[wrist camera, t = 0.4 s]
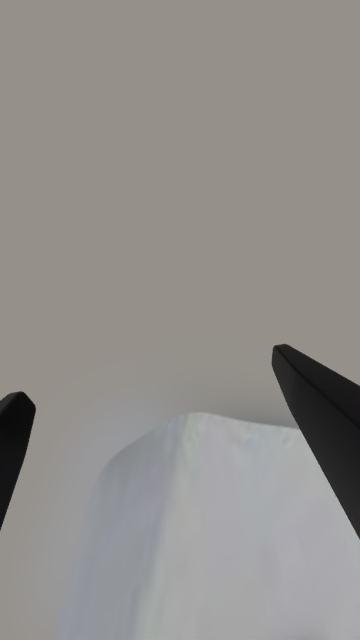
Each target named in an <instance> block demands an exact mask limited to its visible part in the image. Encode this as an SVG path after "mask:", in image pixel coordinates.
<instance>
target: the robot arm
mask: <svg viewBox="0 0 360 640" xmlns="http://www.w3.org/2000/svg"><path fill="white" fill-rule="evenodd" d="M272 367H273V370H274V373H275V375H276V378H277V380H278V383H279V385H280V388H281V390H282V392H283V395H284V397H285V400H286V402H287V405H288V407H289V409H290V411H291V413H292V415H293V417H294V419H295V421H296V422H297V424H298V426H299V428H300V430H301V432H302V434H303V435H304V437H305V439H306V441H307V443H308V445H309V447H310V448H311V450H312V452H313V454H314V456H315V458H316V459H317V461H318V463H319V465H320V467H321V469H322V471H323V472H324V474H325V476H326V478H327V480H328V482H329V483H330V485H331V487H332V489H333V491H334V493H335V495H336V496H337V498H338V500H339V502H340V504H341V506H342V508H343V509H344V511H345V513H346V515H347V517H348V519H349V520H350V522H351V524H352V526H353V528H354V530H355V532H356V533H357V535H358V537H359V539H360V386H359V385H357V384H355V383H354V382H352V381H350V380H348V379H347V378H345V377H343V376H341V375H340V374H338V373H336V372H335V371H333V370H331V369H329V368H328V367H326V366H324V365H322V364H321V363H319V362H317V361H315V360H314V359H312V358H310V357H308V356H307V355H305V354H303V353H301V352H300V351H298V350H296V349H294V348H292V347H291V346H289V345H287V344H281V345H275V346H274V347H273V353H272ZM35 412H36V407H35V405H34V403H33V402H32V401H31V400H30V398H29V397H28V396H27V395H26V394H25V393H24V392H21V391H20V392H14V393H10V394H8V395H7V396H6V397H5V398H3V399H2V400H1V401H0V530H1V527H2V524H3V521H4V518H5V515H6V512H7V509H8V506H9V503H10V500H11V497H12V494H13V491H14V488H15V485H16V482H17V479H18V476H19V473H20V470H21V467H22V464H23V461H24V457H25V454H26V450H27V446H28V442H29V438H30V434H31V429H32V425H33V420H34V416H35Z"/></svg>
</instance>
